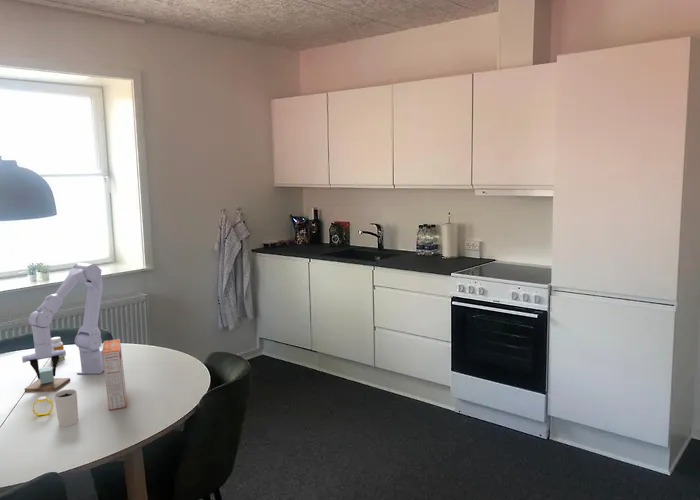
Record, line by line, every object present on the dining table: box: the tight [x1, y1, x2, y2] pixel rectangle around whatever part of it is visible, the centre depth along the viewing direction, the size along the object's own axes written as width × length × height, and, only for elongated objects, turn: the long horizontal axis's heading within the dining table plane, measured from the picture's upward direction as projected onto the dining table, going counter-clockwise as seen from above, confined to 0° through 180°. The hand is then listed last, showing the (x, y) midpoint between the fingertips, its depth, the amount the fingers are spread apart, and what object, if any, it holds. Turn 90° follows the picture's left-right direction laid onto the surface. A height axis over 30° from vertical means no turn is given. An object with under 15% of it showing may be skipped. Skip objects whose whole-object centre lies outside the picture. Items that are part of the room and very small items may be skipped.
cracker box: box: [102, 338, 127, 411], centre depth 204 cm, size 14×6×21 cm, turn 21°
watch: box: [32, 396, 54, 417], centre depth 197 cm, size 6×3×6 cm, turn 115°
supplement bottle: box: [50, 336, 66, 362], centre depth 252 cm, size 5×5×10 cm
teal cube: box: [39, 366, 55, 384], centre depth 222 cm, size 4×4×4 cm
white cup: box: [53, 388, 79, 427], centre depth 190 cm, size 7×7×10 cm
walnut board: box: [24, 377, 71, 393], centre depth 222 cm, size 12×10×1 cm
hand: (46, 376), depth 222 cm, fingers closed on teal cube, 4 cm apart
